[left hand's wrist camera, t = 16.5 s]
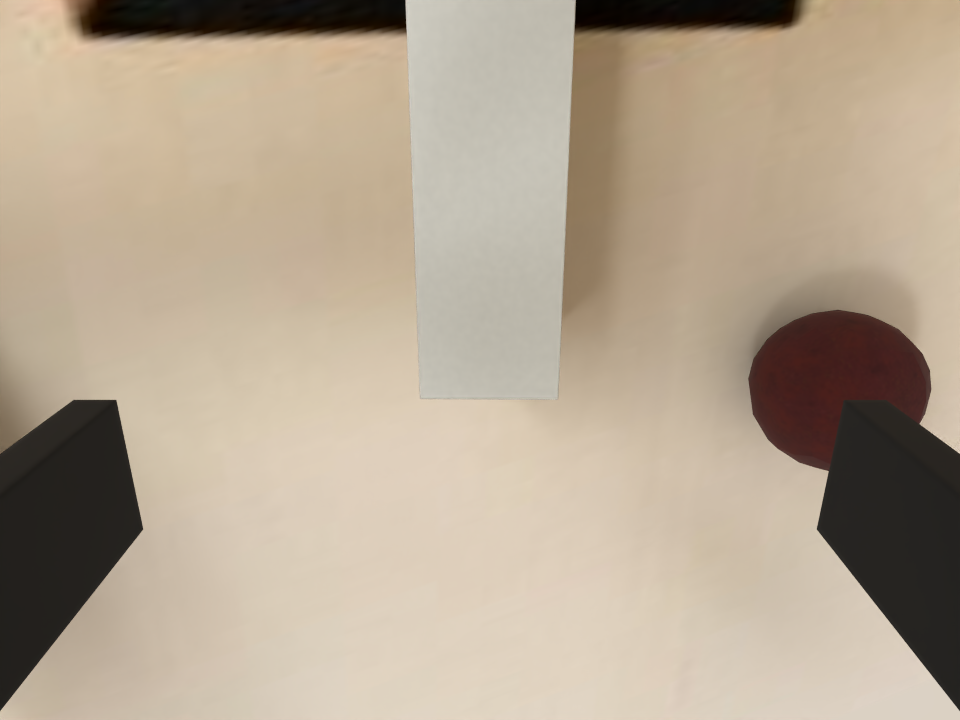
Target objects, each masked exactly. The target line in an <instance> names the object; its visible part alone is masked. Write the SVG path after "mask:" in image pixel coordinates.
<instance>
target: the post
mask: <svg viewBox="0 0 960 720" xmlns="http://www.w3.org/2000/svg"><path fill="white" fill-rule="evenodd" d="M575 5H576V0H406V24H407V52H408V80H409V108H410V136H411V163H412V191H413V219H414V247H415V275H416V302H417V330H418V358H419V386H420V399H524V400H558V394H559V372H560V349H561V326H562V303H563V280H564V257H565V234H566V211H567V188H568V165H569V142H570V119H571V96H572V73H573V51H574V28H575Z"/></svg>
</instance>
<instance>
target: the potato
mask: <svg viewBox="0 0 960 720" xmlns="http://www.w3.org/2000/svg"><path fill="white" fill-rule="evenodd" d="M748 379H749V387H750V395H751V402H752V410H753V415H754V417H755V418H756V420H757V422H758V423H759V425H760V427H761V428H762V430H763V432H764V434H765V435H766V437H767V439H768V440H769V441H770V442H771V443H772V444H773V445H774V446H775V447H777V448H778V449H779V450H781V451H782V452H784V453H786V454H787V455H789V456H790V457H792V458H793V459H795V460H796V461H798V462H799V463H803V464H806V465H809V466H812V467H816V468H820V469H823V470H827V471H829V469H830V464H831V459H832V454H833V449H834V445H835V440H836V435H837V430H838V425H839V421H840V416H841V411H842V406H843V401H844V400H887V401H888V402H890V403H891V404H892V405H894V406H895V407H896V408H898V409H899V410H901V411H902V412H903V413H905V414H906V415H907V416H909V417H910V418H911V419H913V420H914V421H915V422H917V423H918V424H920V422H921V420H922V418H923V416H924V415H925V412H926V408H927V404H928V400H929V397H930V393H931V380H930V370H929V367H928V365H927V363H926V361H925V358H924V356H923V354H922V353H921V352H920V350H919V349H918V348H917V347H916V346H915V345H914V344H913V343H912V342H911V341H910V340H909V339H908V338H907V337H906V336H905V335H904V334H903V333H902V332H901V331H900V330H899V329H897V328H895V327H893V326H891V325H889V324H887V323H885V322H883V321H881V320H878V319H876V318H873V317H871V316H869V315H864V314H859V313H854V312H847V311H841V310H834V311H827V312H820V313H813V314H810V315H807V316H804V317H802V318H799V319H796V320H794V321H792V322H791V323H789V324H787V325H785V326H784V327H782V328H780V329H779V330H778V331H777V332H776V333H774V334H773V335H772V336H771V337H770V338H768V339H767V341H766V342H765V343H764V345H763V346H762V348H761V349H760V351H759V352H758V353H757V355H756V356H755V358H754V360H753V364H752V367H751V371H750V375H749V378H748Z"/></svg>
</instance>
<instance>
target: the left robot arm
mask: <svg viewBox="0 0 960 720" xmlns="http://www.w3.org/2000/svg"><path fill="white" fill-rule="evenodd" d="M142 530H143V526H142V521H141V517H140V512H139V507H138V502H137V497H136V493H135V488H134V483H133V478H132V473H131V469H130V464H129V459H128V454H127V449H126V445H125V440H124V435H123V430H122V425H121V421H120V416H119V411H118V406H117V401H116V400H73V401H72V402H70V403H69V404H68V405H66V406H65V407H64V408H62V409H61V410H59V411H58V412H57V413H55V414H54V415H53V416H51V417H50V418H49V419H47V420H46V421H44V422H43V423H42V424H40V425H39V426H38V427H36V428H35V429H34V430H32V431H31V432H30V433H28V434H27V435H25V436H24V437H23V438H21V439H20V440H19V441H17V442H16V443H15V444H13V445H12V446H10V447H9V448H8V449H6V450H5V451H4V452H2V453H1V454H0V711H1V709H2V708H3V707H4V705H5V704H6V703H7V702H8V700H9V699H10V698H11V697H12V695H13V694H14V693H15V691H16V690H17V689H18V688H19V686H20V685H21V684H22V683H23V681H24V680H25V679H26V677H27V676H28V675H29V674H30V672H31V671H32V670H33V669H34V667H35V666H36V665H37V664H38V662H39V661H40V660H41V658H42V657H43V656H44V655H45V653H46V652H47V651H48V650H49V648H50V647H51V646H52V644H53V643H54V642H55V641H56V639H57V638H58V637H59V636H60V634H61V633H62V632H63V630H64V629H65V628H66V627H67V625H68V624H69V623H70V622H71V620H72V619H73V618H74V617H75V615H76V614H77V613H78V611H79V610H80V609H81V608H82V606H83V605H84V604H85V603H86V601H87V600H88V599H89V597H90V596H91V595H92V594H93V592H94V591H95V590H96V589H97V587H98V586H99V585H100V583H101V582H102V581H103V580H104V578H105V577H106V576H107V575H108V573H109V572H110V571H111V570H112V568H113V567H114V566H115V564H116V563H117V562H118V561H119V559H120V558H121V557H122V556H123V554H124V553H125V552H126V550H127V549H128V548H129V547H130V545H131V544H132V543H133V542H134V540H135V539H136V538H137V536H138V535H139V534H140V533H141V531H142ZM817 530H818V531H819V533H820V534H821V535H822V536H823V538H824V539H825V540H826V542H827V543H828V544H829V545H830V547H831V548H832V549H833V550H834V552H835V553H836V554H837V556H838V557H839V558H840V559H841V561H842V562H843V563H844V564H845V566H846V567H847V568H848V570H849V571H850V572H851V573H852V575H853V576H854V577H855V578H856V580H857V581H858V582H859V583H860V585H861V586H862V587H863V589H864V590H865V591H866V592H867V594H868V595H869V596H870V597H871V599H872V600H873V601H874V603H875V604H876V605H877V606H878V608H879V609H880V610H881V611H882V613H883V614H884V615H885V617H886V618H887V619H888V620H889V622H890V623H891V624H892V625H893V627H894V628H895V629H896V630H897V632H898V633H899V634H900V636H901V637H902V638H903V639H904V641H905V642H906V643H907V644H908V646H909V647H910V648H911V650H912V651H913V652H914V653H915V655H916V656H917V657H918V658H919V660H920V661H921V662H922V664H923V665H924V666H925V667H926V669H927V670H928V671H929V672H930V674H931V675H932V676H933V677H934V679H935V680H936V681H937V683H938V684H939V685H940V686H941V688H942V689H943V690H944V691H945V693H946V694H947V695H948V696H949V698H950V699H951V700H952V702H953V703H954V704H955V705H956V707H957V708H958V709H959V711H960V454H959V453H958V452H956V451H955V450H954V449H952V448H951V447H950V446H948V445H947V444H945V443H944V442H943V441H941V440H940V439H939V438H937V437H936V436H935V435H933V434H932V433H930V432H929V431H928V430H926V429H925V428H924V427H922V426H921V425H920V424H918V423H917V422H915V421H914V420H913V419H911V418H910V417H909V416H907V415H906V414H905V413H903V412H902V411H901V410H899V409H898V408H896V407H895V406H894V405H892V404H891V403H890V402H888V401H887V400H844V401H843V406H842V411H841V416H840V421H839V425H838V430H837V435H836V440H835V445H834V449H833V454H832V459H831V464H830V469H829V473H828V478H827V483H826V488H825V493H824V497H823V502H822V507H821V512H820V517H819V521H818V526H817Z"/></svg>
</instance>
